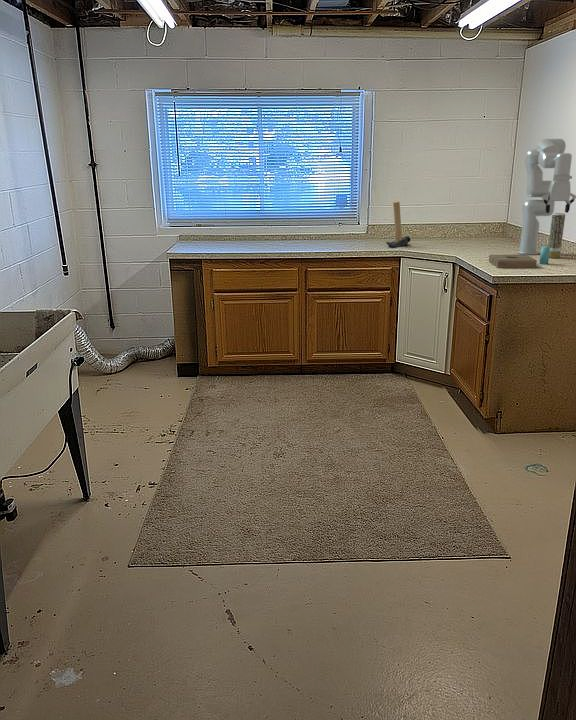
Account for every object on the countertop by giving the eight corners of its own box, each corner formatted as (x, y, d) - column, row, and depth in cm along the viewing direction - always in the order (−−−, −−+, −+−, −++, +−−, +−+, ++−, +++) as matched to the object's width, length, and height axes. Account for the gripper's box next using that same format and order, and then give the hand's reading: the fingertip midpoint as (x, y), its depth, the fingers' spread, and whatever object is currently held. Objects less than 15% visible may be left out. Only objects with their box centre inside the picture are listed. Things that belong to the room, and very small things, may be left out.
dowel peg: (538, 263, 330) (540, 246, 327) (546, 263, 330) (548, 246, 327) (540, 264, 326) (542, 247, 323) (549, 264, 326) (551, 247, 323)
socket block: (488, 261, 337) (489, 254, 336) (525, 261, 335) (525, 254, 334) (497, 267, 318) (498, 260, 317) (535, 267, 316) (536, 260, 315)
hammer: (392, 251, 393) (389, 206, 380) (386, 250, 397) (383, 205, 383) (410, 242, 405) (408, 198, 391) (404, 241, 408) (401, 197, 395)
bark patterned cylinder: (560, 258, 343) (566, 214, 335) (548, 258, 344) (554, 214, 336) (558, 256, 349) (563, 213, 341) (545, 256, 350) (551, 213, 342)
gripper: (575, 178, 310) (571, 211, 315) (541, 178, 312) (537, 212, 317) (581, 178, 303) (576, 212, 308) (546, 178, 304) (542, 213, 310)
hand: (557, 212), depth 313 cm, fingers open, 9 cm apart
